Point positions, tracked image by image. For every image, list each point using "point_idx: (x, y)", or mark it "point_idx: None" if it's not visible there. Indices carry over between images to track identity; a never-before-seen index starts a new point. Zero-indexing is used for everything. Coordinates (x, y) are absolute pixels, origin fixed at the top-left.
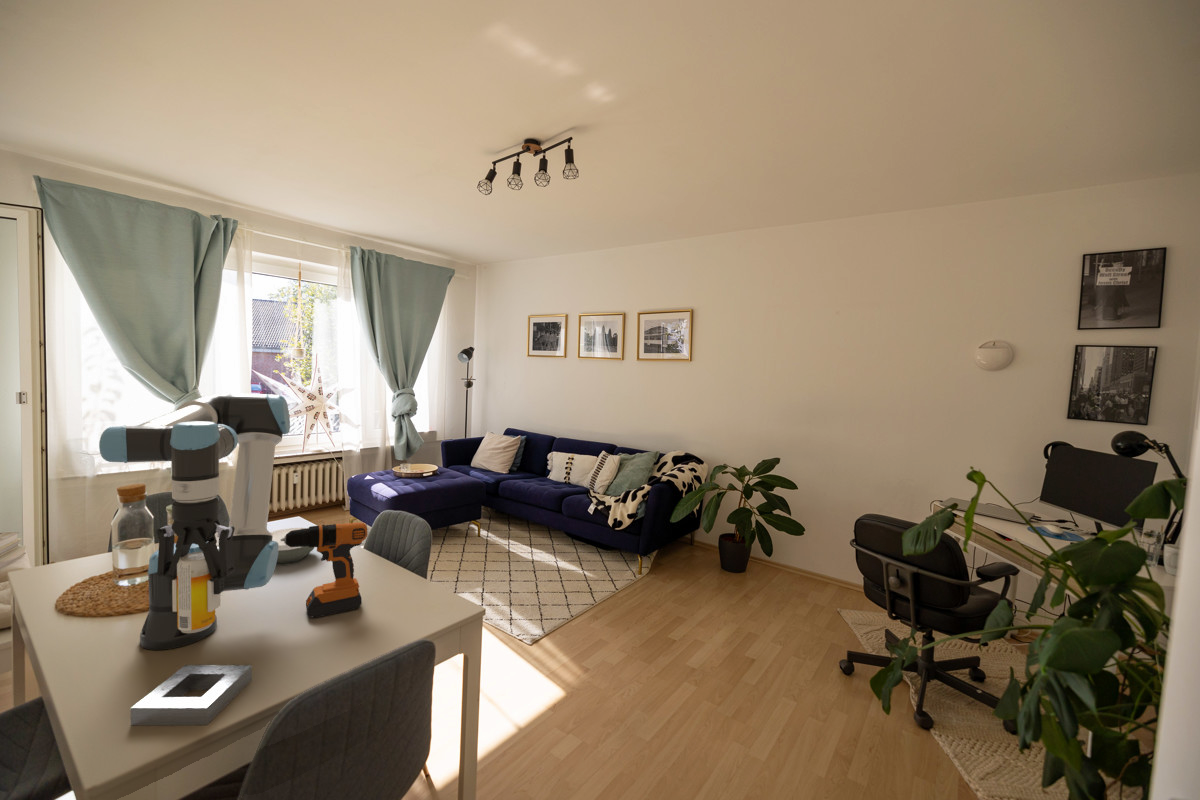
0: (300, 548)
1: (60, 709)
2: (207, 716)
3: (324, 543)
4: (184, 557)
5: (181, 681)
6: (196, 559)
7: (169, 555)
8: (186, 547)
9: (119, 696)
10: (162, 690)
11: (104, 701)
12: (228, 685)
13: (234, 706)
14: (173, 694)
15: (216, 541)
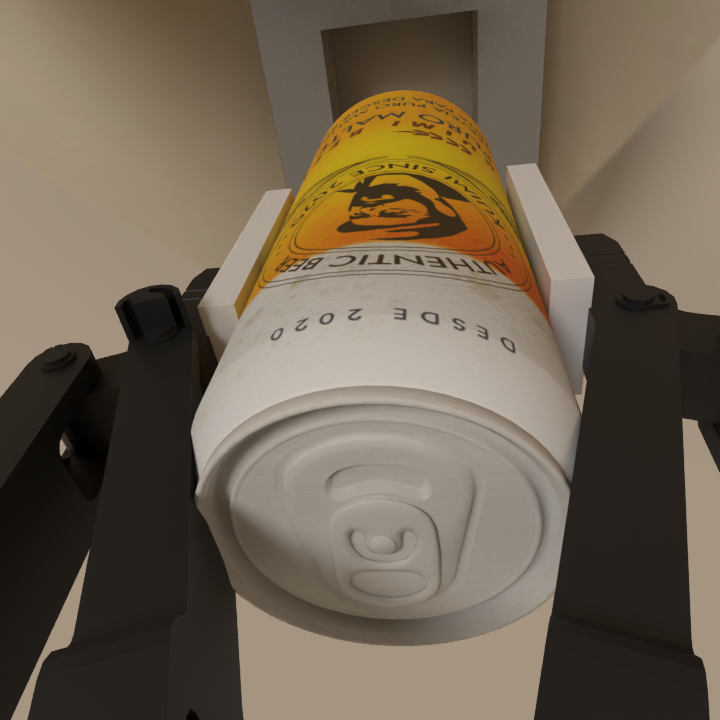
0: None
1: (36, 171)
2: None
3: None
4: (249, 550)
5: (328, 82)
6: (451, 586)
7: (32, 545)
8: (218, 675)
9: (127, 91)
10: (311, 147)
11: (112, 122)
12: (534, 91)
13: (561, 101)
14: (336, 118)
15: (706, 685)
